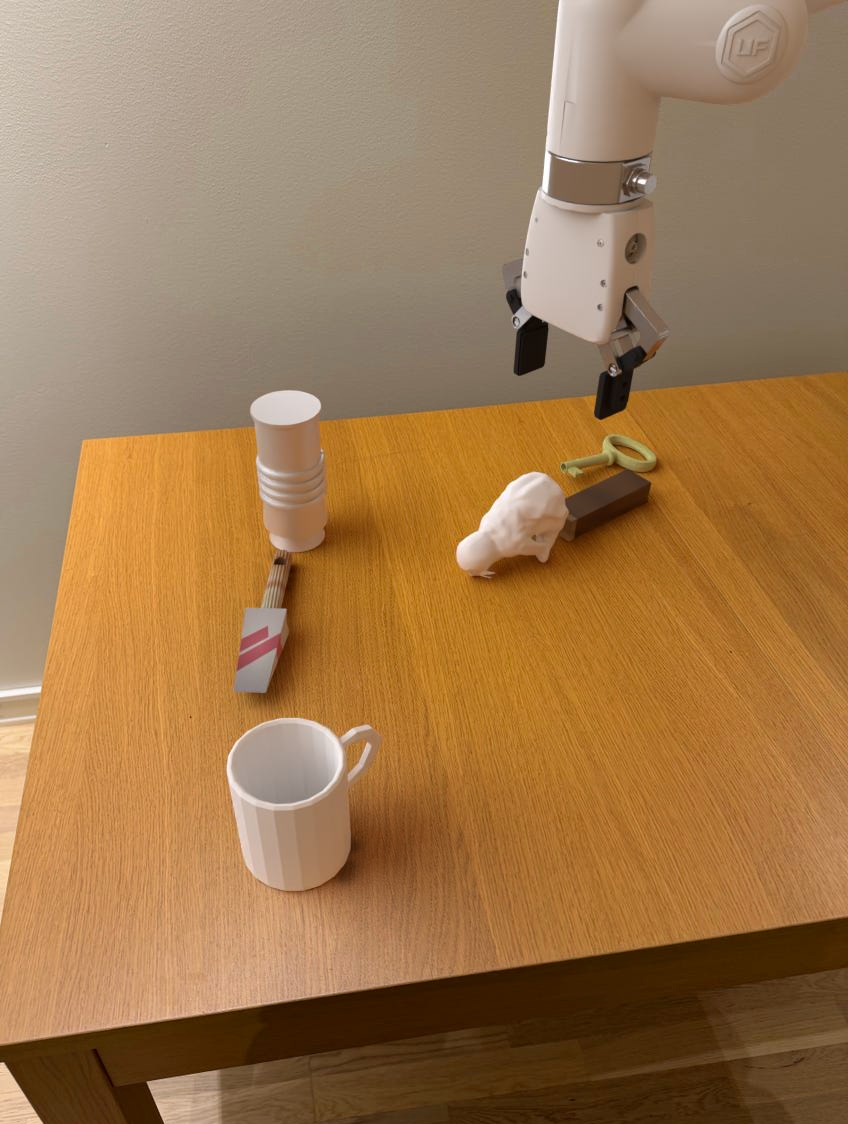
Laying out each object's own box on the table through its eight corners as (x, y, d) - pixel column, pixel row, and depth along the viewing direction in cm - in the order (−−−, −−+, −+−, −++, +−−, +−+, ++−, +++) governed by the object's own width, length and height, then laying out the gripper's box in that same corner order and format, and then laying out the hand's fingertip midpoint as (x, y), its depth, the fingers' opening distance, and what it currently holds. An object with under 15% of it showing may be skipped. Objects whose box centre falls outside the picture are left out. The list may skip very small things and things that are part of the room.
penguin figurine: (577, 482, 88) (481, 535, 84) (572, 550, 94) (481, 603, 90) (532, 454, 92) (438, 504, 88) (530, 521, 98) (441, 571, 94)
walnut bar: (623, 487, 103) (627, 467, 101) (648, 502, 101) (652, 481, 99) (544, 525, 98) (546, 505, 96) (568, 542, 96) (571, 521, 94)
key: (554, 479, 104) (556, 463, 103) (614, 438, 111) (617, 422, 109) (608, 504, 100) (612, 487, 99) (667, 459, 107) (671, 443, 105)
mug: (413, 827, 70) (415, 741, 63) (280, 912, 65) (267, 829, 58) (351, 761, 75) (347, 675, 68) (223, 836, 69) (204, 751, 63)
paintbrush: (224, 678, 77) (264, 544, 93) (228, 702, 79) (267, 566, 94) (269, 680, 77) (302, 545, 92) (272, 703, 79) (304, 567, 94)
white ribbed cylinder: (340, 543, 96) (334, 414, 86) (279, 562, 94) (265, 432, 84) (314, 510, 101) (305, 383, 91) (255, 527, 99) (239, 400, 89)
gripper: (726, 193, 63) (677, 417, 75) (550, 141, 74) (531, 344, 85) (650, 217, 60) (611, 447, 71) (478, 159, 71) (468, 367, 82)
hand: (567, 391), depth 78 cm, fingers open, 9 cm apart
